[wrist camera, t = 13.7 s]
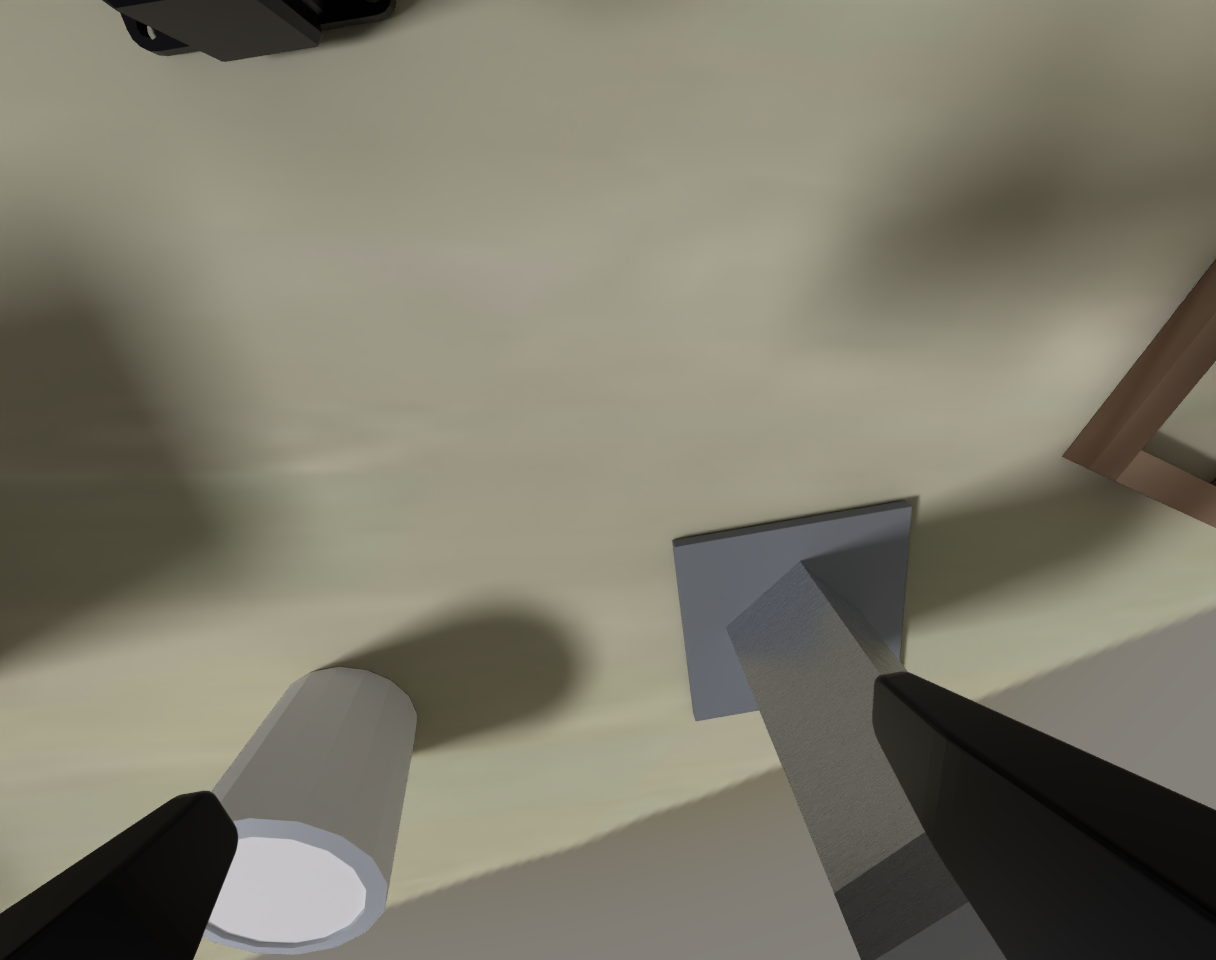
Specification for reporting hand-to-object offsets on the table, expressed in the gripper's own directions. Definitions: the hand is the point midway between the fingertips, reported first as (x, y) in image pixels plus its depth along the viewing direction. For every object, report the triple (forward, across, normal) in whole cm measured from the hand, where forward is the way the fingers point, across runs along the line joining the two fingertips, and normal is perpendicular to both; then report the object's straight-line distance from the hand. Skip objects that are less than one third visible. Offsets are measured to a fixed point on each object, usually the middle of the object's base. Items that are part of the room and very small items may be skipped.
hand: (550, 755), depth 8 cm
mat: (+13, +8, -10) cm, 18 cm away
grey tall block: (+12, +8, -9) cm, 18 cm away
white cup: (+13, -11, -11) cm, 20 cm away
